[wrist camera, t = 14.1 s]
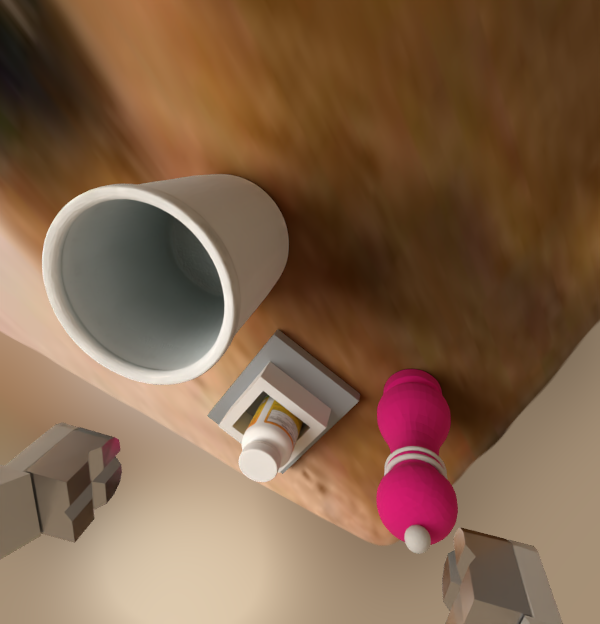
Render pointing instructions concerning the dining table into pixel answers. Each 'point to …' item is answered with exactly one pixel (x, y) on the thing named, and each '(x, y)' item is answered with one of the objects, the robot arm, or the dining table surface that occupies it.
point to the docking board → (286, 393)
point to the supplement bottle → (268, 440)
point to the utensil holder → (163, 271)
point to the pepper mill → (415, 461)
